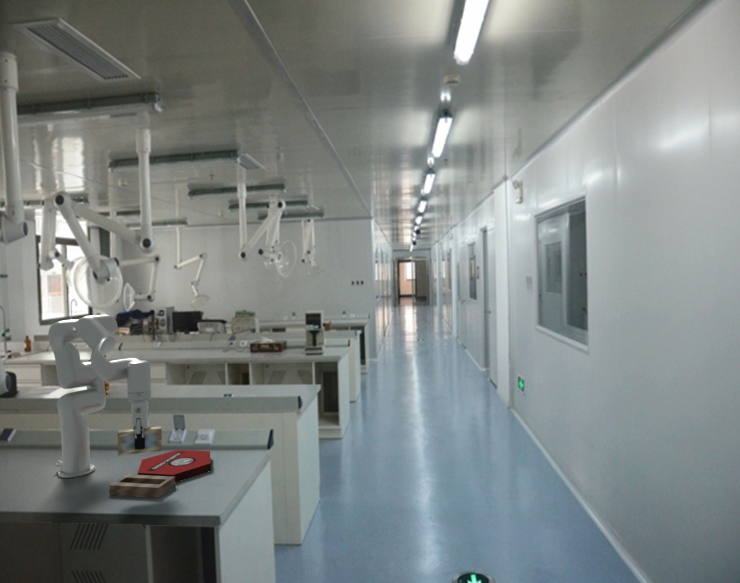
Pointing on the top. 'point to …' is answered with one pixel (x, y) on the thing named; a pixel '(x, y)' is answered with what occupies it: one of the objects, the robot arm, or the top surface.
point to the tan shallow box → (142, 485)
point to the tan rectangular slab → (128, 441)
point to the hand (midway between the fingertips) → (140, 446)
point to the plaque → (177, 464)
